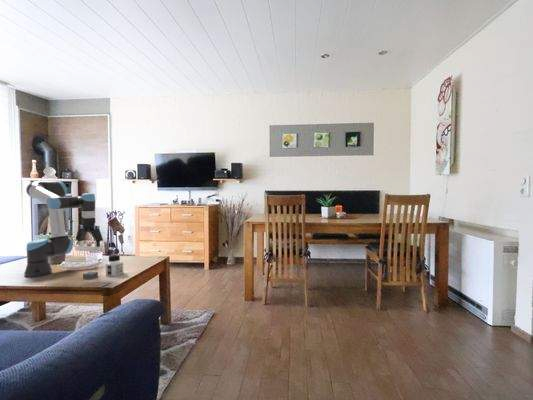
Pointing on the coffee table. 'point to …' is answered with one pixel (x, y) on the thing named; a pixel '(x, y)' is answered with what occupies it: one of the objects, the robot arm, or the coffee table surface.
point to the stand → (90, 275)
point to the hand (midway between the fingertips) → (89, 251)
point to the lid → (87, 247)
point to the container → (114, 266)
